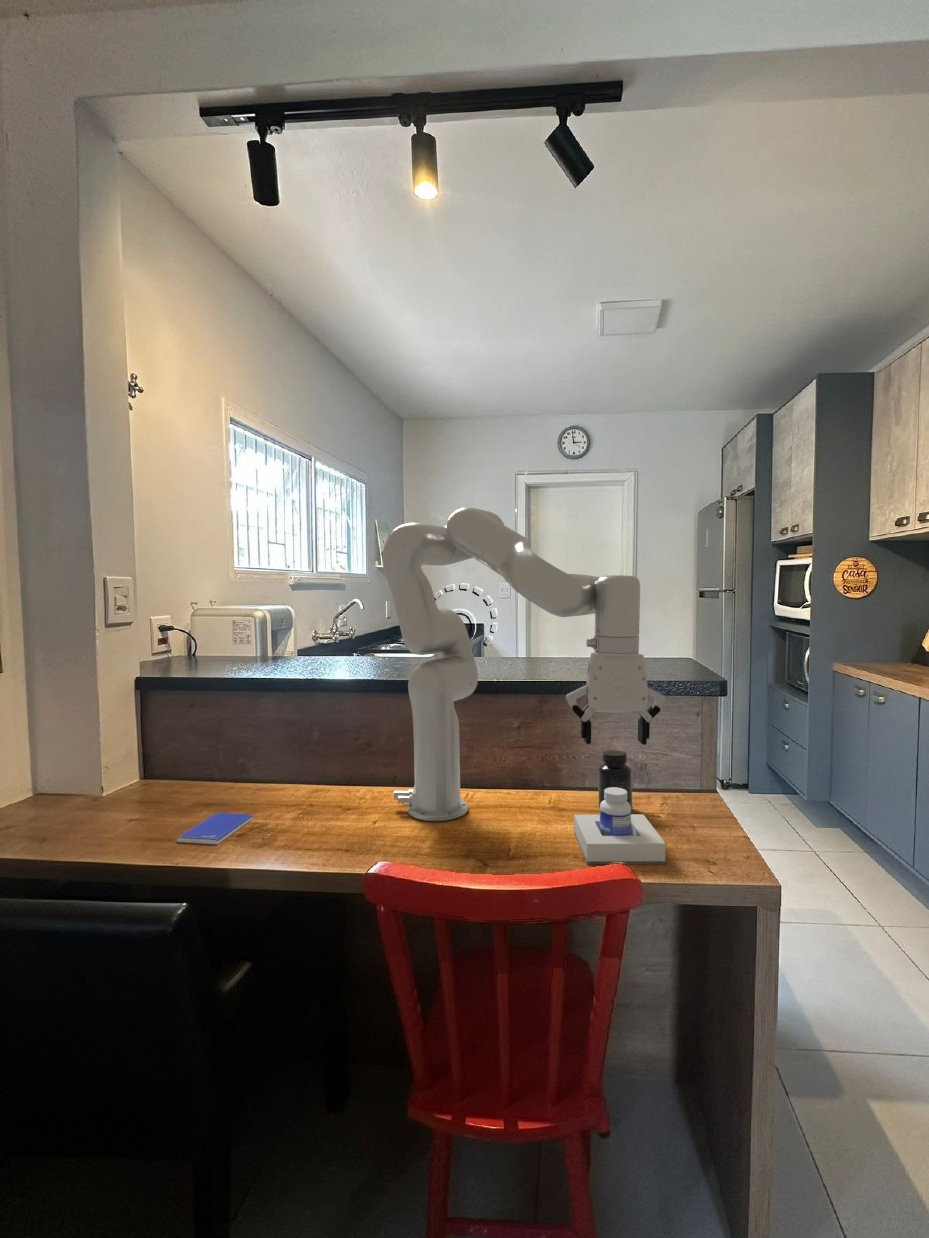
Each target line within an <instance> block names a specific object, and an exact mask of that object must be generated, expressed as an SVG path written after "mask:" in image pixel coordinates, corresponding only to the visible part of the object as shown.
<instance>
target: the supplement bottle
mask: <svg viewBox="0 0 929 1238" xmlns="http://www.w3.org/2000/svg"><path fill="white" fill-rule="evenodd" d="M627 758H628V757H627V752H626V751H623V750H615V749H612V750H611V749H610V750H605V751H603V752H602V762H603V763H601V765H599V767H598V770H597V776H598V777H597V783H598V809H600V804H601V802H602V801H603V800H605V799H604V790H605V789H606V788H610V787H617V788H622V789H625V790H626V791H627V802H628V803H629V804H630V806H631V811H632V810H633V771H632V769H631V767H630V766H629V765H628V764H627V762H628V759H627Z"/></svg>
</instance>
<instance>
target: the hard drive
mask: <svg viewBox="0 0 929 1238" xmlns="http://www.w3.org/2000/svg"><path fill="white" fill-rule="evenodd" d="M252 820H253V815H252V814H248V813H247V814H246V813H231V812H216V813H214V814H212V815H211V816H209V817H208V818H206V819H205V820H203V821H201V822H200V823H198V824H197V825H195V826H193V827H192V828H190V829H188V830H187V831H185V832H184V833H181V835H179V836H177V843H188V844H190V843H191V844H203V845H206V844H207V845H219V844H220V843H222V842H223V841H224V840H226V839H227V838H229V837H230V836H231V835H233V834H234V833H235V832H237V831H238V830H239V829H241V828H242V827H244V826H245V825H247V824H249V822H251V821H252Z"/></svg>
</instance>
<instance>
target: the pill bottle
mask: <svg viewBox="0 0 929 1238" xmlns="http://www.w3.org/2000/svg"><path fill="white" fill-rule="evenodd" d="M604 799H605V800H603V801H602V802H601V804H600V808H599V815H600V833H601V835H602V836H631V814H632V810H631V806H630V804H629V803H628V802H627V791H626V790H625V789H622V788H617V787H610V788H606V789H605V790H604Z"/></svg>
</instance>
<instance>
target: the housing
mask: <svg viewBox="0 0 929 1238" xmlns="http://www.w3.org/2000/svg"><path fill="white" fill-rule="evenodd" d="M573 834H574V836H575V838H576V841H577V843H578V846H579V849H580V851H581V853H582V855H583V858H584V859H585V863H586V865H609V864H608V863H612V862H623V863H625V864H624V865H665V864H666V843H665V841H664V840H663V838H662V837H661V835H660V834H659V833H658V832H657V830H656V829H655V828H654V826H653V825H652V823H651V822H650V821H649V820H648V819H647V817H646V816H645V814H644V813H643V814H637V813H636V814H633V813H631V836H602V835H601V833H600V814H574V815H573Z"/></svg>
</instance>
